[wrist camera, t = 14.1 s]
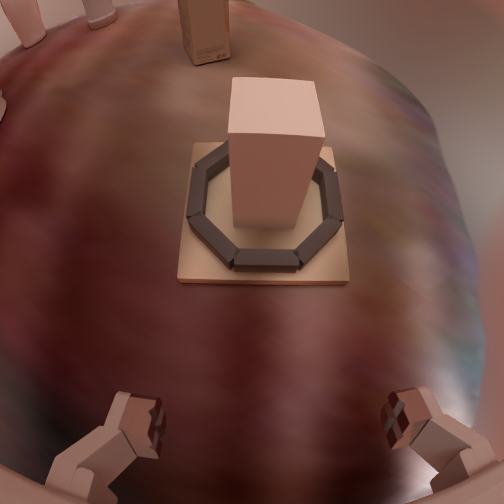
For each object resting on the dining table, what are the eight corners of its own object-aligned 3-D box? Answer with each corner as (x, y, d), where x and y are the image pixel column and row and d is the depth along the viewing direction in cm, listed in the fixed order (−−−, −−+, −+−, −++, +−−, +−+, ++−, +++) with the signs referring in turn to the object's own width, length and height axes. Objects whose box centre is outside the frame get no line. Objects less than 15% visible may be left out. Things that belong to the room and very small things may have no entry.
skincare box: (231, 59, 29) (230, -36, 17) (194, 67, 28) (183, -29, 17) (215, 37, 31) (211, -44, 19) (182, 44, 30) (172, -38, 19)
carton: (233, 227, 20) (227, 132, 12) (235, 177, 21) (232, 77, 13) (294, 229, 20) (325, 137, 12) (290, 179, 21) (313, 81, 13)
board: (180, 282, 20) (171, 271, 17) (195, 150, 23) (191, 130, 21) (344, 284, 20) (357, 273, 17) (328, 154, 24) (336, 135, 21)
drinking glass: (19, 56, 33) (-6, 1, 19) (24, 43, 36) (3, -7, 22) (47, 39, 35) (26, -19, 21) (51, 28, 37) (33, -24, 23)
